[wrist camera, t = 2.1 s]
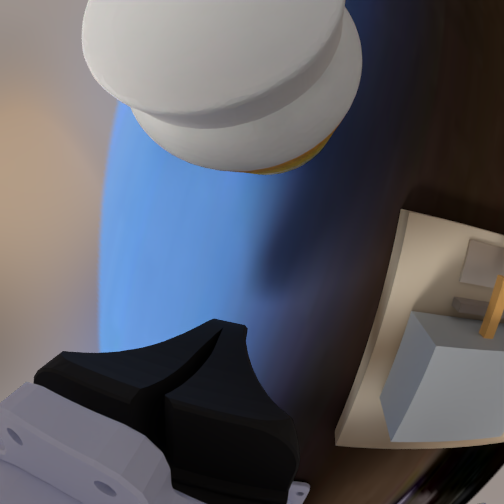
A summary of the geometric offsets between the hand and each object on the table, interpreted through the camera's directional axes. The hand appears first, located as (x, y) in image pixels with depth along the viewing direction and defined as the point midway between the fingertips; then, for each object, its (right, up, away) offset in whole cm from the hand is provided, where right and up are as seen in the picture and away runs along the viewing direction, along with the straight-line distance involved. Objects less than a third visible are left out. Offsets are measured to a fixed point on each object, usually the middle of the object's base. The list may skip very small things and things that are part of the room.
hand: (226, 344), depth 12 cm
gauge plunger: (+10, 0, 0) cm, 10 cm away
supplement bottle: (+2, +9, +1) cm, 9 cm away
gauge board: (+14, -2, +1) cm, 14 cm away
